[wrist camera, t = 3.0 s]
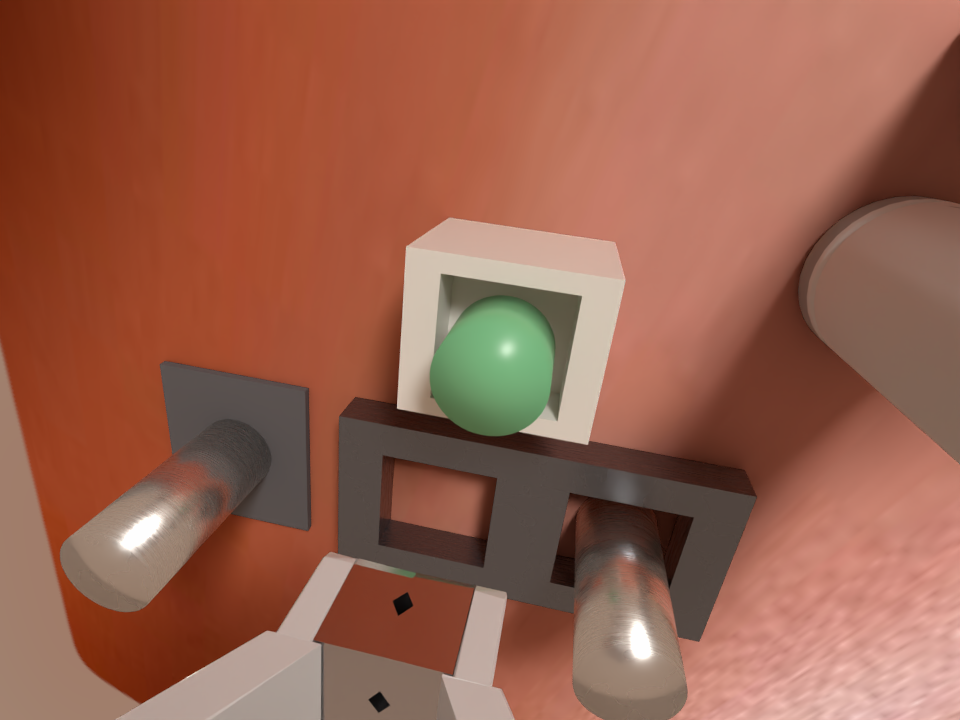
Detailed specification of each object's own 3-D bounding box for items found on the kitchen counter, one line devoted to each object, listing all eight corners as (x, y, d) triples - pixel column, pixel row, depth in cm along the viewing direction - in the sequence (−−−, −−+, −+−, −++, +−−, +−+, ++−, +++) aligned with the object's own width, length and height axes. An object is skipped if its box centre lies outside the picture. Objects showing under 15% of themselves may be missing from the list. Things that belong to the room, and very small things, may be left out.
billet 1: (200, 412, 29) (50, 524, 21) (270, 426, 29) (145, 546, 20) (206, 474, 31) (70, 599, 23) (273, 488, 30) (158, 621, 22)
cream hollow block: (449, 217, 23) (406, 246, 18) (615, 241, 22) (625, 280, 17) (437, 347, 26) (396, 408, 20) (586, 372, 25) (587, 444, 19)
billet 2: (583, 484, 27) (584, 637, 19) (665, 500, 27) (701, 663, 19) (569, 545, 29) (563, 710, 21) (646, 561, 28) (671, 737, 20)
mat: (164, 361, 29) (159, 364, 28) (308, 388, 28) (305, 391, 27) (183, 498, 32) (179, 502, 32) (311, 526, 31) (307, 530, 31)
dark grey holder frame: (355, 397, 27) (339, 416, 26) (744, 470, 25) (757, 497, 24) (352, 535, 31) (338, 560, 29) (692, 609, 29) (699, 641, 27)
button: (456, 287, 18) (434, 315, 15) (564, 304, 18) (560, 336, 15) (447, 383, 20) (425, 424, 17) (546, 401, 19) (539, 446, 17)
